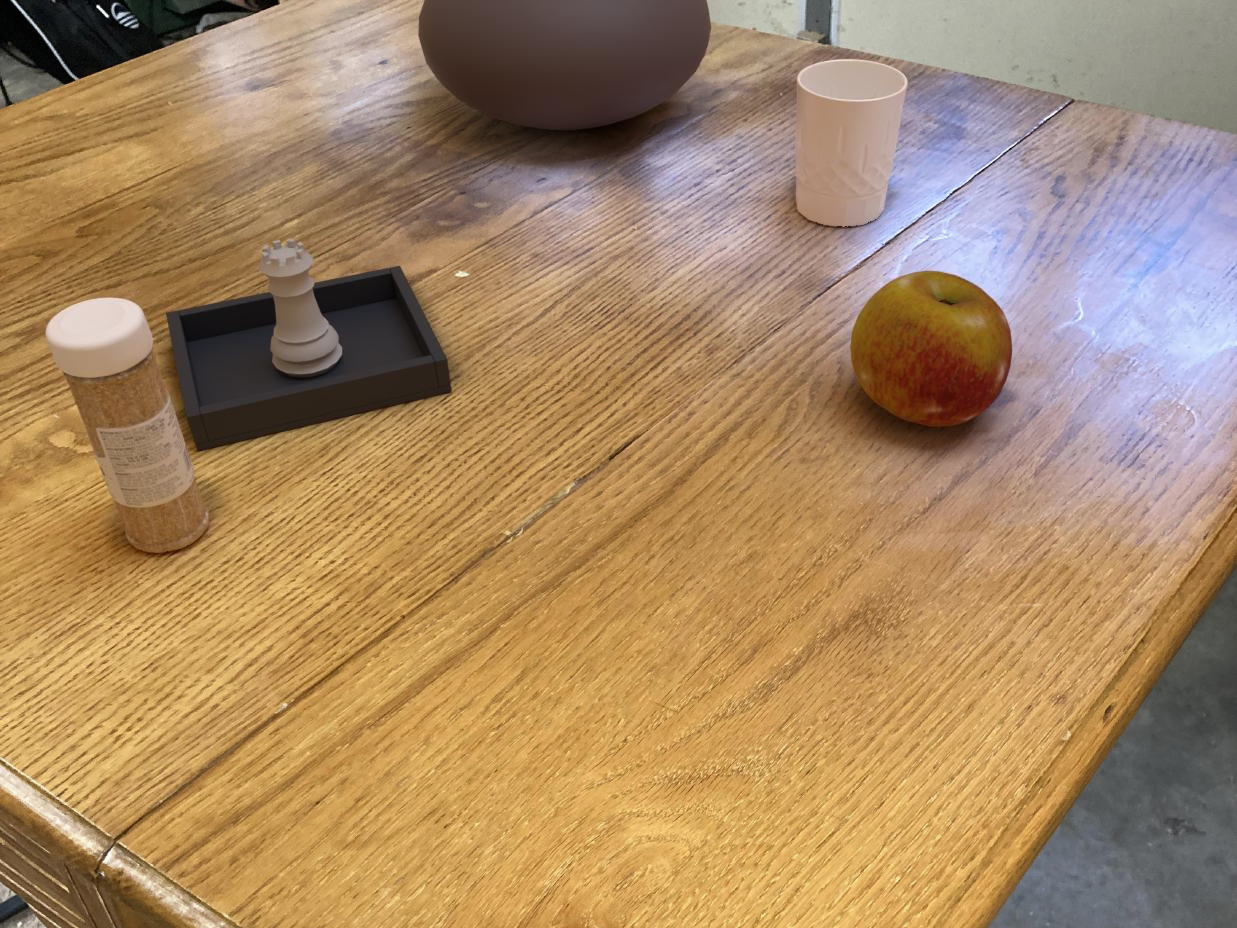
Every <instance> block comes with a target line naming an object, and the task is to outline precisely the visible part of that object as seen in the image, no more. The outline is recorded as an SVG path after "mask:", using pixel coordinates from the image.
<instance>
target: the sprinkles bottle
mask: <svg viewBox="0 0 1237 928" xmlns="http://www.w3.org/2000/svg"><path fill="white" fill-rule="evenodd" d="M45 339H46V342H47V345H48V347H49V350H50V353H51V355H52V358H53V360H54V362H55V365H56V367H57V368H58V369H59V370H60V371H61V373H62V374H63V376H64V377H65V379H66V382H67V384H68V387H69V389H70V392H71V395H72V397H73V399H74V403H75V405H76V407H77V410H78V413H79V415H80V418H81V420H82V422H83V423H82V424H84V429H85V432H86V434H87V437H88V440H89V442H90V445H91V446H92V451H93V455H94V457H95V460H96V462H97V464H98V467H99V470H100V472H101V475H102V477H103V481H104V482H105V485H106V487H107V490H108V492H109V495H110V497H111V498H112V499H113V501H114V503H115V506H116V509H117V511H118V514H119V517H120V518H121V522H122V524H123V527H124V535H125V537H126V539H127V542H128V543H129V544H130V545H131V546H133V547H134V548H135V549H137V550H139V551H141V550H143V551H142V552H145V551H146V552H145V553H153V552H154V553H155V554H161V553H168V552H173V550H174V551H178V550H180V549H184V548H185V547H187V545H188V546H189V545H192V544H193V543H194V542H196V541H197V540H198V539H199V538H200V537H201V536H203V535H204V534H205V532H206V530H207V529H208V527H209V526H210V519H211V516H210V510H209V508H208V506H207V505H206V504H205V502H204V500H203V498H202V494H201V492H200V488H199V485H198V483H197V480H196V477H195V468H194V465H193V462H192V459H191V456H190V452H189V450H188V446H187V444H186V441H185V438H184V436H183V435H184V434H183V432H182V429H181V426H180V423H179V420H178V417H177V413H176V410H175V408H174V406H173V405H174V404H173V403H172V399H171V397H170V393H169V391H168V390H167V388H166V385H165V383H164V380H163V379H164V378H163V376H162V374H161V371H160V367H159V365H158V362H157V358H156V356H155V353H154V337H153V335H152V331H151V328H150V326H149V322H148V320H147V318H146V315H145V312H144V311H143V309H142V308H141V307H140V306H139V305H138V304H137V303H135V302H133V301H131V300H129V299H125V298H121V297H98V298H91V299H88V300H87V299H86V300H82V301H80V302H78V303H74V304H72V305H70V306H68V307H66V308H64V309H62V310H61V311H59V312H57V313H56V314H55V315H54V316H53V317H52V318H51V319H50V320H49V322H48V323H47V325H46V327H45ZM167 551H168V552H167Z"/></svg>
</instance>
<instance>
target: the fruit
mask: <svg viewBox="0 0 1237 928" xmlns="http://www.w3.org/2000/svg"><path fill="white" fill-rule="evenodd" d="M854 322H855V323H854V325H853V328H852V330H851V336H850V337H851V338H850V344H849V345H850V346H849V347H850V359H851V360H850V361H851V365H852V369H853V372H854V374H855V376H856V379H857V382H858V384H859V385H860V386H861V388H862V389H863V391H864V393H865V394H866V395H867V396H868V397H869V398H870V399H871V400H872V401H873V402H874V403H875V404H877V405H878V406H880V408H882V409H884V410H885V411H887V412H889V413H890V414H892V415H893V416H894V417H897V418H899V419H901V420H903V421H907V422H911V423H915V424H917V425H922V426H927V427H937V428H939V427H940V428H943V427H944V428H945V427H950V426H952V427H953V426H957V425H960V424H964V423H967V422H968V421H971V420H972V419H975V418H976V417H977V416H980V415H981V414H982V413H984V412H985V411H987V409H988V408H989V407H990V406H991V405H992V404H994V402H995V401H996V400H997V398H998V397H999V396H1000V394H1001V392H1002V391H1003V388H1004V386H1005V384H1006V382H1007V381H1008V377H1009V373H1010V369H1011V366H1012V358H1013V339H1012V331H1011V327H1010V324H1009V322H1008V319H1007V316H1006V315H1005V313H1004V310H1003V309H1002V308H1001V307H1000V305H999V304H998V303H997V301H996V300H994V298H993V297H991V296H990V295H989V294H988V293H987V292H986V291H985V290H983V288H981V287H980V286H978V285H977V284H975V283H974V282H971V281H969V280H967V279H965V278H964V277H962V276H959V275H956V274H953V273H949V272H944V271H940V270H920V271H914V272H910V273H907V274H904V275H900V276H898V277H896V278H894V279H892V280H890V281H889V282H887V283H886V284H884V285H883V286H882V287H881V288H879V289H878V290H877V291H876V292H875V293H874V294H872V296H870V298H869V299H868V300H867V301H866V303H865V304H864V306H863V307H862V309H861V310H860V311H859V313H858V315H857V317H856V320H855V321H854Z"/></svg>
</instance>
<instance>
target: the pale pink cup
mask: <svg viewBox="0 0 1237 928" xmlns="http://www.w3.org/2000/svg"><path fill="white" fill-rule="evenodd" d="M908 83H909V81H908V78H907V77H906V75H905V74H904V73H903V72H901V71H900V70H899V69H898V68H895V67H893V66H890V65H888V64H885V63H881V62H878V61H873V60H866V59H856V58H855V59H854V58H839V59H831V60H825V61H819V62H816V63H812V64H810V65H808V66H806V67H804V68H803V69H802V70H800V71H799V72H798V74H797V77H796V99H795V100H796V104H795V134H794V137H795V138H794V160H795V161H794V163H795V165H794V170H795V171H794V172H795V176H796V179H795V180H796V181H795V182H796V183H795V187H796V188H795V205H796V208H797V209H796V210H797V212H798V213H799V214H800V215H801V216H803V217H804V218H805V219H806V220H808V221H810V222H813V223H816V222H817V223H816V224H820V225H822V224H823V225H822V226H827V225H828V226H829V227H837V226H842V227H841V228H849V227H848V226H851V227H857V226H858V227H859V226H864V225H866V224H869V223H871V222H873V221H875V219H876V220H877V219H879V217H880V216H881V214H882V213H883V212H884V209H885V205H886V199H887V194H888V187H889V181H890V179H891V175H892V172H893V167H894V159H895V154H896V151H897V146H898V141H899V135H900V129H901V124H902V118H903V111H904V107H905V102H906V101H905V100H906V96H907V95H906V94H907V90H908ZM870 221H871V222H870ZM868 222H869V223H868ZM856 225H857V226H856ZM845 226H847V227H845Z"/></svg>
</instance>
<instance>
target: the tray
mask: <svg viewBox="0 0 1237 928" xmlns="http://www.w3.org/2000/svg"><path fill="white" fill-rule="evenodd" d="M313 293H314V297H315V299H316V302H317V304H318V307H319V310H320V312H321V314H322V316H323V317H324V318H325V319H326V320H327V321H328V322H329V325H331V326H332V327H333V328H334V330H335V331H336V332H337V334H338V336H339V340H338V343H339V344H340V345H341V347H342V355H341V357H340V359H339V361H338V362H337V363H336V365H335V366H334V367H333V368H332V369H330V370H329V371H327V372H326V373H323V374H320V375H317V376H314V377H305V378H300V377H291V376H289V375H287V374H285V373H283V372H281V371H280V370H278V369H277V368H276V367H275V365H274V364H273V362H272V359H273V353H272V352H271V350H270V348H271V338H272V336H273V335H274V328H275V326H276V310H275V302H274V298H273V295H272V294H271V293H270V292H269V291H266V292H261V293H257V294H252V295H251V294H250V295H247V296H241V297H237V298H233V299H232V298H231V299H226V300H222V301H217V302H212V303H208V304H203V305H198V306H193V307H187V308H182V309H178V310H173V311H167V312H165V316H166V321H167V326H168V331H169V336H170V342H171V346H172V352H173V357H174V362H175V367H176V371H177V376H178V382H179V388H180V392H181V397H182V401H183V407H184V412H185V417H186V420H187V424H188V426H189V430H190V433H191V436H192V440H193V442H194V444H195V448H196V451H197V452H199V451H205V450H207V449H212V448H216V447H221V446H225V445H229V444H230V445H231V444H234V443H237V442H242V441H247V440H250V439H256V438H259V437H264V436H269V435H273V434H276V433H281V432H285V431H290V430H293V429H294V430H295V429H298V428H303V427H306V426H311V425H315V424H319V423H324V422H327V421H332V420H336V419H340V418H345V417H349V416H353V415H358V414H362V413H366V412H367V413H368V412H371V411H376V410H380V409H384V408H388V407H392V406H393V407H394V406H397V405H401V404H405V403H409V402H413V401H418V400H422V399H427V398H430V397H431V398H432V397H435V396H440V395H443V394H449V393H452V391H453V389H452V384H451V383H452V382H451V375H450V370H449V362H448V361H449V360H448V358H447V356H446V353H445V352H444V349H443V347H442V346H441V344H440V342H439V340H438V338H437V336H436V334H435V332H434V330H433V328H432V326H431V324H430V322H429V320H428V318H427V316H426V314H425V312H424V310H423V308H422V306H421V304H420V303H419V302H420V301H418V298H417V297H416V295H415V292H414V290H413V288H412V286H411V284H410V282H409V280H408V278H407V277H406V275H405V273H404V271H403V269H402V266H401V265H396V266H391V267H390V266H389V267H385V268H380V269H375V270H370V271H365V272H361V273H355V274H350V275H346V276H340V277H336V278H335V277H334V278H331V279H326V280H321V281H314V286H313Z"/></svg>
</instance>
